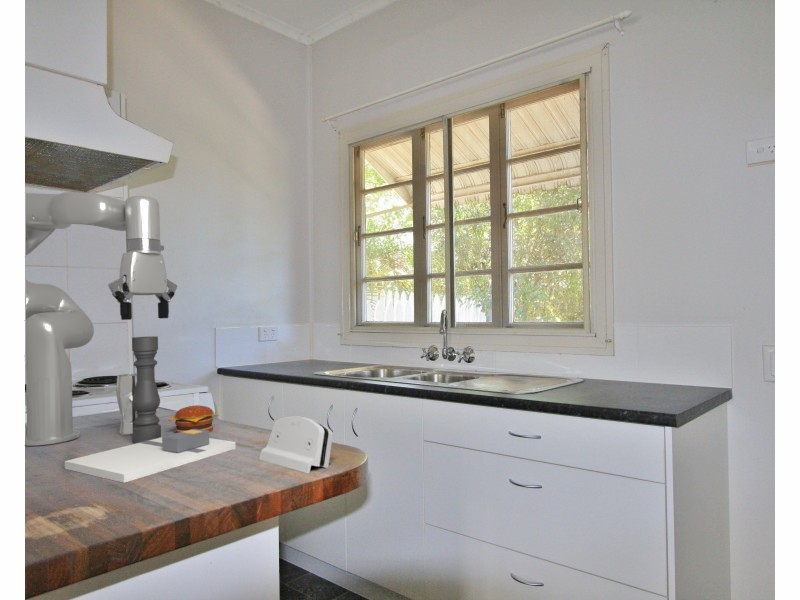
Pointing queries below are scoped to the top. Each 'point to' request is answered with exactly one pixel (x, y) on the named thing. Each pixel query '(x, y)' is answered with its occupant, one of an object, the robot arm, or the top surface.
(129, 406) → the beer glass
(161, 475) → the top surface
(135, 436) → the candle holder
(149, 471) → the white rectangular board
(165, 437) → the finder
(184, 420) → the hamburger
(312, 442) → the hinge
